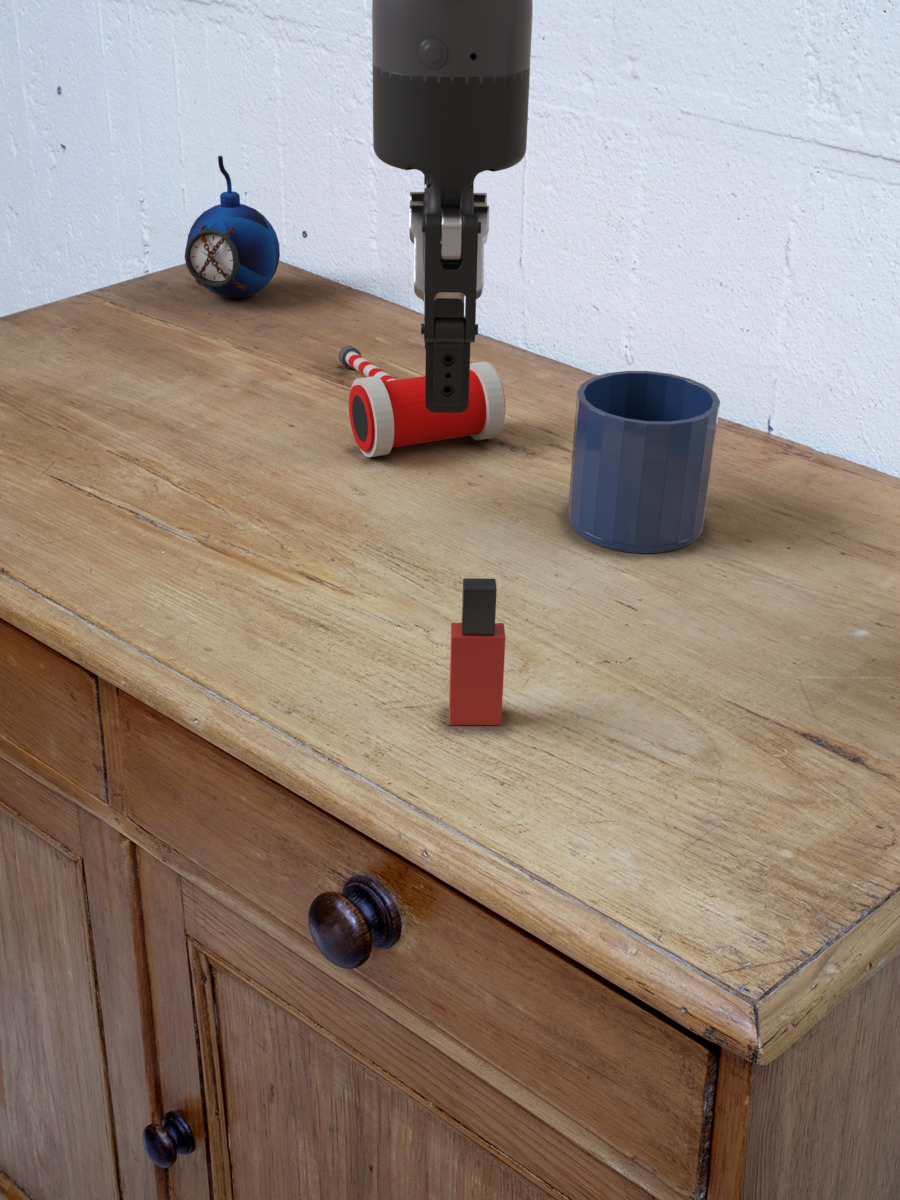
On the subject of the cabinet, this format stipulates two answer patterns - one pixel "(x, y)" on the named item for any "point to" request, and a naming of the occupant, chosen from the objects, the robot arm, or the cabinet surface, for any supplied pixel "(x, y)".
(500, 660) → the tall red rectangular prism
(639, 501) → the cup
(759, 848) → the cabinet surface
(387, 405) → the toy hammer
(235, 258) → the bomb
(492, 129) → the robot arm
